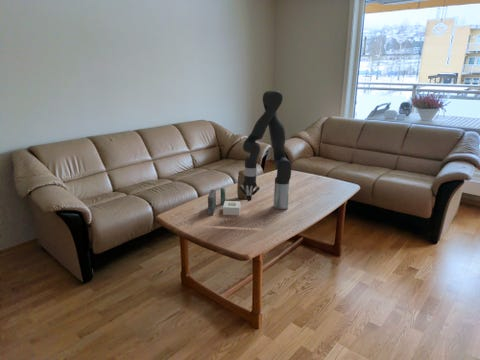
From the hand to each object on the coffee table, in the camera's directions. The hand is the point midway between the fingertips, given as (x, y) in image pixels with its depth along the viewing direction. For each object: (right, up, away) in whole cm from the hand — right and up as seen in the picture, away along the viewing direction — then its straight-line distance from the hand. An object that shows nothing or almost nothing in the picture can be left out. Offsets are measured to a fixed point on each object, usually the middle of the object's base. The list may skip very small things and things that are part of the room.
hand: (248, 200), depth 211 cm
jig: (-15, -8, +4) cm, 17 cm away
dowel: (-17, -4, +15) cm, 23 cm away
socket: (-11, -7, +3) cm, 13 cm away
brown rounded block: (-2, 0, +29) cm, 30 cm away
